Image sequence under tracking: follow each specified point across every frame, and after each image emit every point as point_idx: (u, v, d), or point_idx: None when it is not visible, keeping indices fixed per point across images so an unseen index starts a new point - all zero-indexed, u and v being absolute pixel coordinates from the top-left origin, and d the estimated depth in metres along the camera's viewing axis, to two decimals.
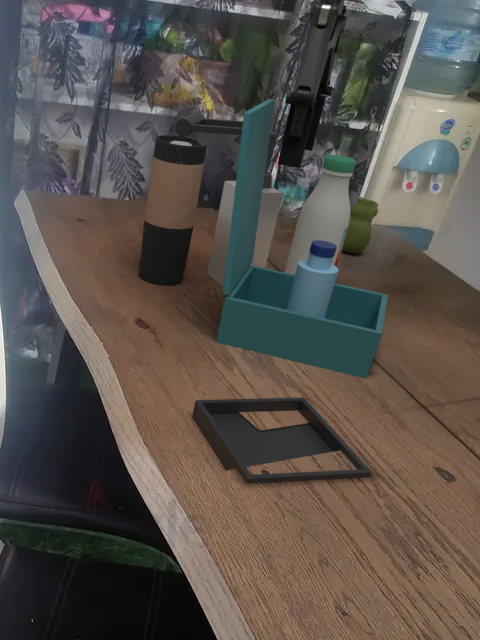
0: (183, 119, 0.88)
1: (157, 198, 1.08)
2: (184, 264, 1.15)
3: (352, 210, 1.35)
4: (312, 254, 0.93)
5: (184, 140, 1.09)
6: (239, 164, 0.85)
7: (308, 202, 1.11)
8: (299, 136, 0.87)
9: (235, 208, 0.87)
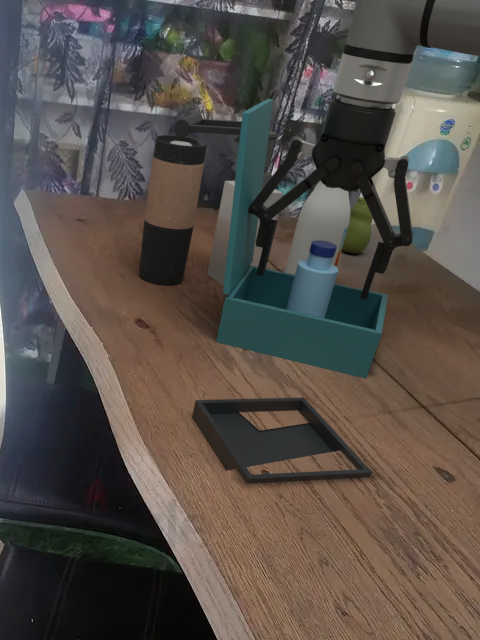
0: (182, 120, 0.88)
1: (157, 198, 1.08)
2: (184, 264, 1.15)
3: (352, 210, 1.35)
4: (312, 254, 0.93)
5: (184, 140, 1.09)
6: (238, 164, 0.85)
7: (308, 202, 1.11)
8: None
9: (234, 208, 0.87)
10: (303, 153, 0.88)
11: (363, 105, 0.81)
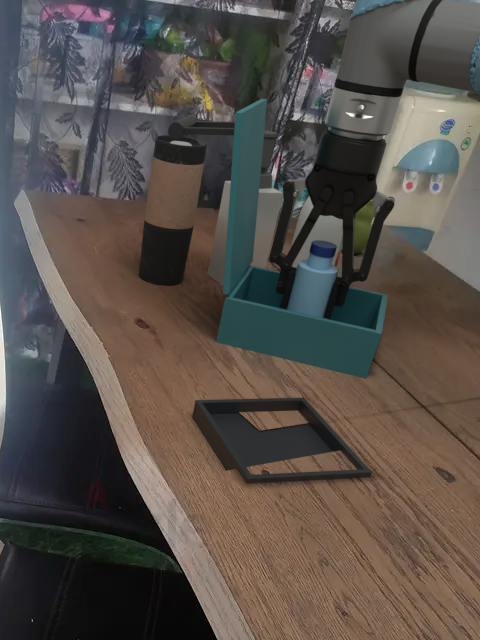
0: (176, 122, 0.89)
1: (157, 198, 1.08)
2: (184, 264, 1.15)
3: None
4: (312, 254, 0.93)
5: (184, 140, 1.09)
6: (233, 164, 0.85)
7: (308, 202, 1.11)
8: None
9: (231, 208, 0.88)
10: (298, 190, 0.91)
11: (354, 137, 0.83)
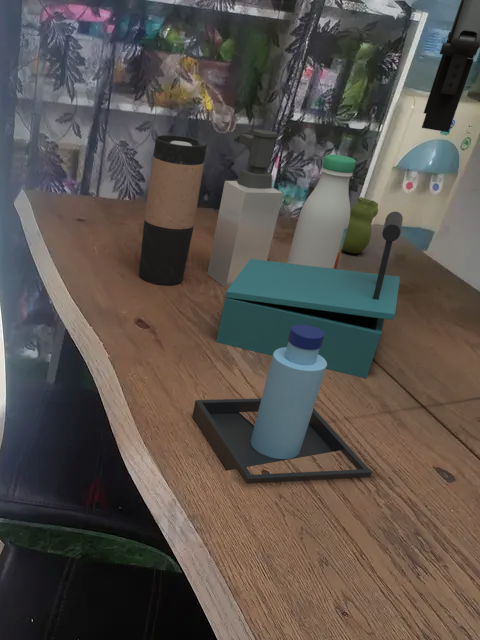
0: (399, 234, 0.86)
1: (157, 198, 1.08)
2: (184, 264, 1.15)
3: (352, 210, 1.35)
4: (291, 344, 0.70)
5: (184, 140, 1.09)
6: (348, 309, 0.89)
7: (308, 202, 1.11)
8: None
9: (308, 305, 0.90)
10: None
11: None
